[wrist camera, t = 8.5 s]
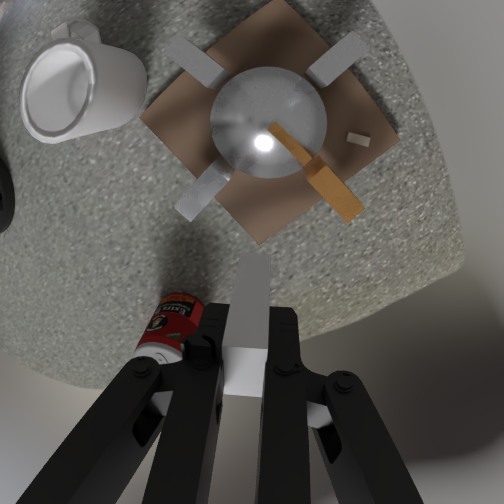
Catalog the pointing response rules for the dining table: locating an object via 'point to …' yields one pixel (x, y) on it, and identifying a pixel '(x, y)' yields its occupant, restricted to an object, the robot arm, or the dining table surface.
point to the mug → (80, 85)
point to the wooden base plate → (290, 58)
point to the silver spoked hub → (268, 123)
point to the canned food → (170, 328)
